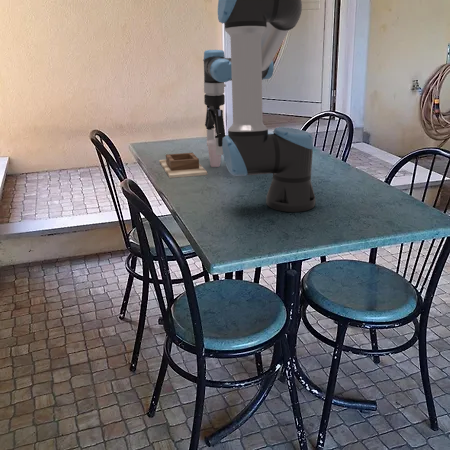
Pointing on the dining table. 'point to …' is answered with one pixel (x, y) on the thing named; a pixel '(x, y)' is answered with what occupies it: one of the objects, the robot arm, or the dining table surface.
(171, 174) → the socket board
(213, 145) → the smoothie
